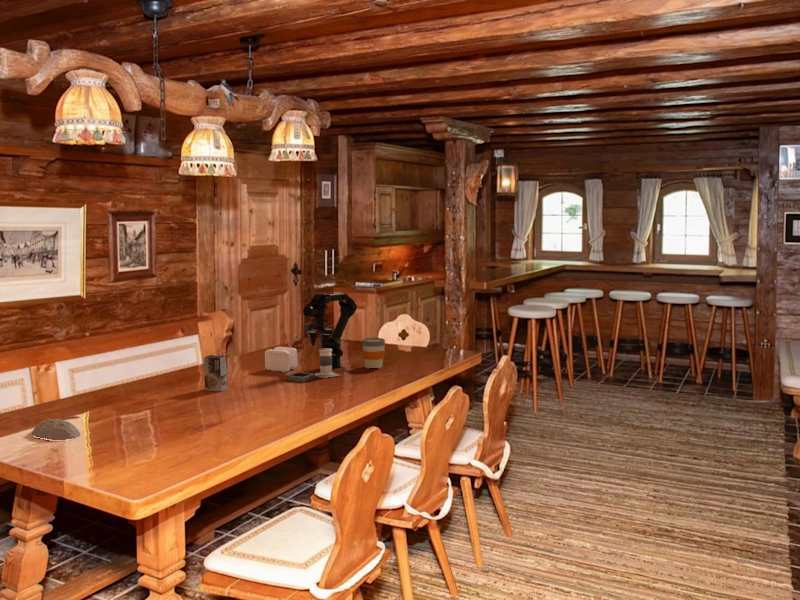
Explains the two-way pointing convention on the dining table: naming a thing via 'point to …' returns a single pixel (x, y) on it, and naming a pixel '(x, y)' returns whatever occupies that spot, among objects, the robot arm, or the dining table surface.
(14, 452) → the dining table surface
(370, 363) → the reusable coffee cup
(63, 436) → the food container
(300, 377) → the reel dock
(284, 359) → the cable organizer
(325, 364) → the cable reel
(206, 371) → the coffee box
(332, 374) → the rubber mat
